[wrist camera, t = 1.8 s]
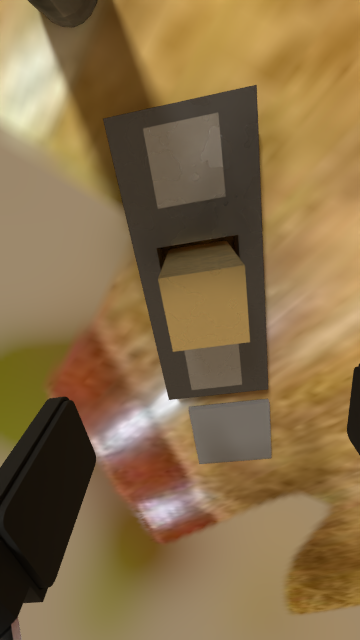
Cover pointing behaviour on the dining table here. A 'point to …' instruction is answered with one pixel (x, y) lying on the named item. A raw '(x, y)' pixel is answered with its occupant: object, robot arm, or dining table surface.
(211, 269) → the brass block
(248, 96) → the dark grey flat block
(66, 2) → the beverage cup
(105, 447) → the dining table surface
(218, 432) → the rubber mat
